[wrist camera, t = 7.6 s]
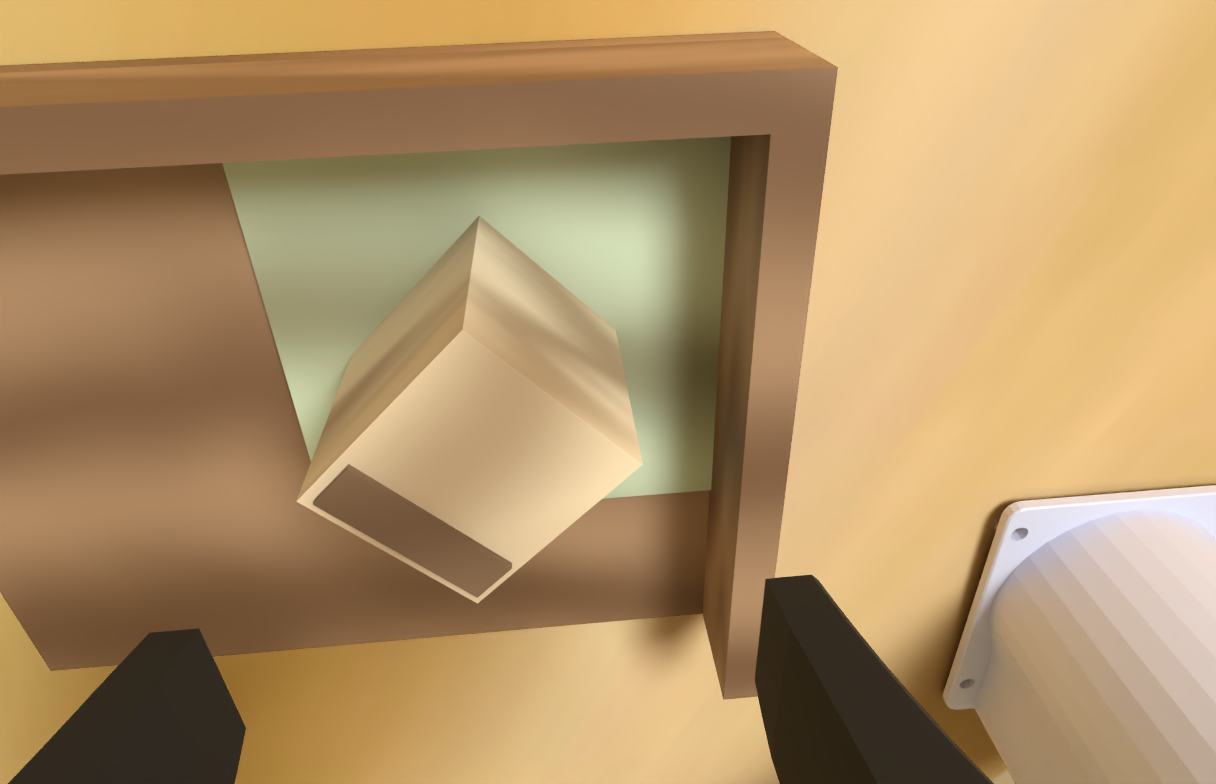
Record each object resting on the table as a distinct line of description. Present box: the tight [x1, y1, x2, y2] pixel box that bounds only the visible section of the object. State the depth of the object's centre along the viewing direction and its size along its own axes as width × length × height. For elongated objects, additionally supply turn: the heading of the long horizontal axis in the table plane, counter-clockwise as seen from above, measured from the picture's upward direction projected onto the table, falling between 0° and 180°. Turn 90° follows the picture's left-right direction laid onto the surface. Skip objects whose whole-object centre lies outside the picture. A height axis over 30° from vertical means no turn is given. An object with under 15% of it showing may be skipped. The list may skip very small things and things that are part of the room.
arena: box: [0, 31, 838, 699], centre depth 18 cm, size 16×20×4 cm
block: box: [296, 216, 643, 604], centre depth 16 cm, size 4×4×5 cm
